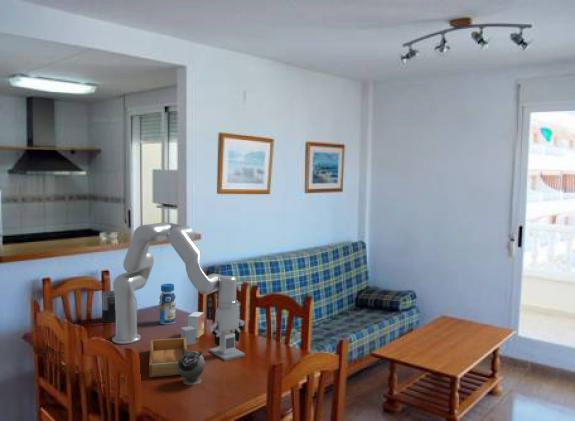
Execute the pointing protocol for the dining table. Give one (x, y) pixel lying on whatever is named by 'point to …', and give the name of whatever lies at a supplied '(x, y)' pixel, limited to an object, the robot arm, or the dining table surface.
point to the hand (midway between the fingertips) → (227, 342)
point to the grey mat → (227, 356)
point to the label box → (227, 342)
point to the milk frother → (108, 306)
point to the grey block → (189, 334)
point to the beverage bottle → (167, 304)
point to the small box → (197, 322)
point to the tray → (165, 356)
